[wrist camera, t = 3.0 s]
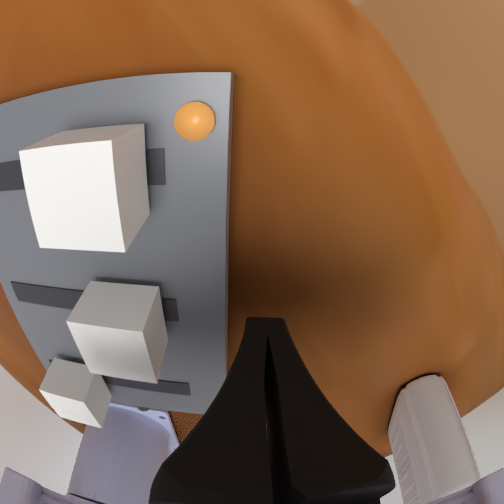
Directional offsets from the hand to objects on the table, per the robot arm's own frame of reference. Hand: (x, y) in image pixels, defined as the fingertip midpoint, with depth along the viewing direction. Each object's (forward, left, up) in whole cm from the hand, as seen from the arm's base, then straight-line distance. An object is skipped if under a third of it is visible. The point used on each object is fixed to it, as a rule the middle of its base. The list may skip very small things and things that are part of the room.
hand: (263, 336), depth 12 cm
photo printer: (-13, -14, -4) cm, 19 cm away
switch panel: (0, +8, -3) cm, 8 cm away
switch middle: (0, +6, -1) cm, 6 cm away
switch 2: (-6, +10, -1) cm, 12 cm away
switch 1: (+6, +6, -1) cm, 8 cm away
